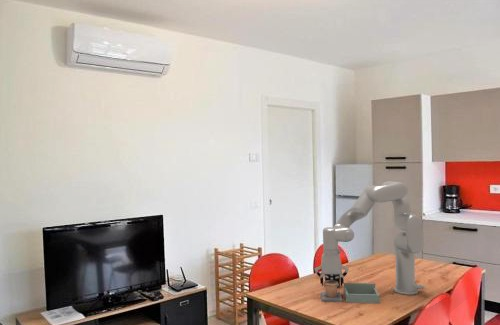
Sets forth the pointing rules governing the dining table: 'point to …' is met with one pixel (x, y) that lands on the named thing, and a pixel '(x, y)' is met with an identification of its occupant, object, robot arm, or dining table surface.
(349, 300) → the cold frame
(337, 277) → the spotted tube
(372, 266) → the dining table surface
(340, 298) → the slate tile
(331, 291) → the pot
